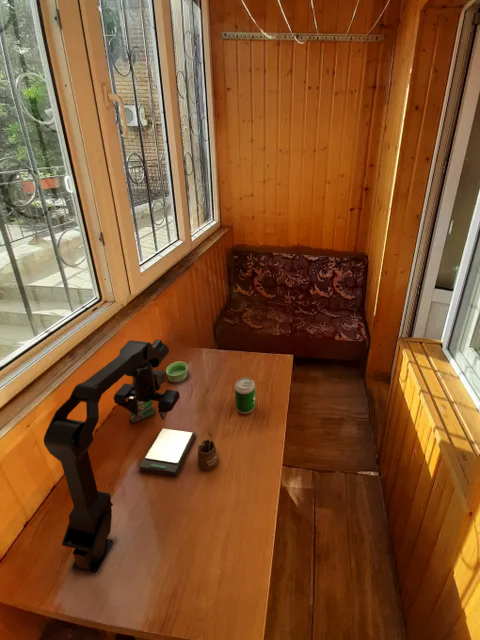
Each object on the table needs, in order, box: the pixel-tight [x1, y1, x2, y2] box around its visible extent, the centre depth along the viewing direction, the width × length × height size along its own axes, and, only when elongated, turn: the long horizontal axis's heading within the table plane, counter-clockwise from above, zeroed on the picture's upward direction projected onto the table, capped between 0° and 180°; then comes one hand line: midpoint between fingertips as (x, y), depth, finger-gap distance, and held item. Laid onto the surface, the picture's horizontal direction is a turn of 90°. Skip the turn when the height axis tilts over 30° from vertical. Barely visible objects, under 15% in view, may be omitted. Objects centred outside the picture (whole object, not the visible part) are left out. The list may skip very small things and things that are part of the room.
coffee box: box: [128, 400, 155, 424], centre depth 113 cm, size 8×3×13 cm, turn 121°
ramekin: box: [165, 361, 189, 384], centre depth 135 cm, size 9×9×4 cm
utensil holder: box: [197, 425, 218, 472], centre depth 98 cm, size 6×6×12 cm
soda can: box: [234, 377, 257, 415], centre depth 118 cm, size 8×8×12 cm
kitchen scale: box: [138, 427, 196, 478], centre depth 102 cm, size 14×12×2 cm
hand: (150, 417), depth 98 cm, fingers open, 9 cm apart
